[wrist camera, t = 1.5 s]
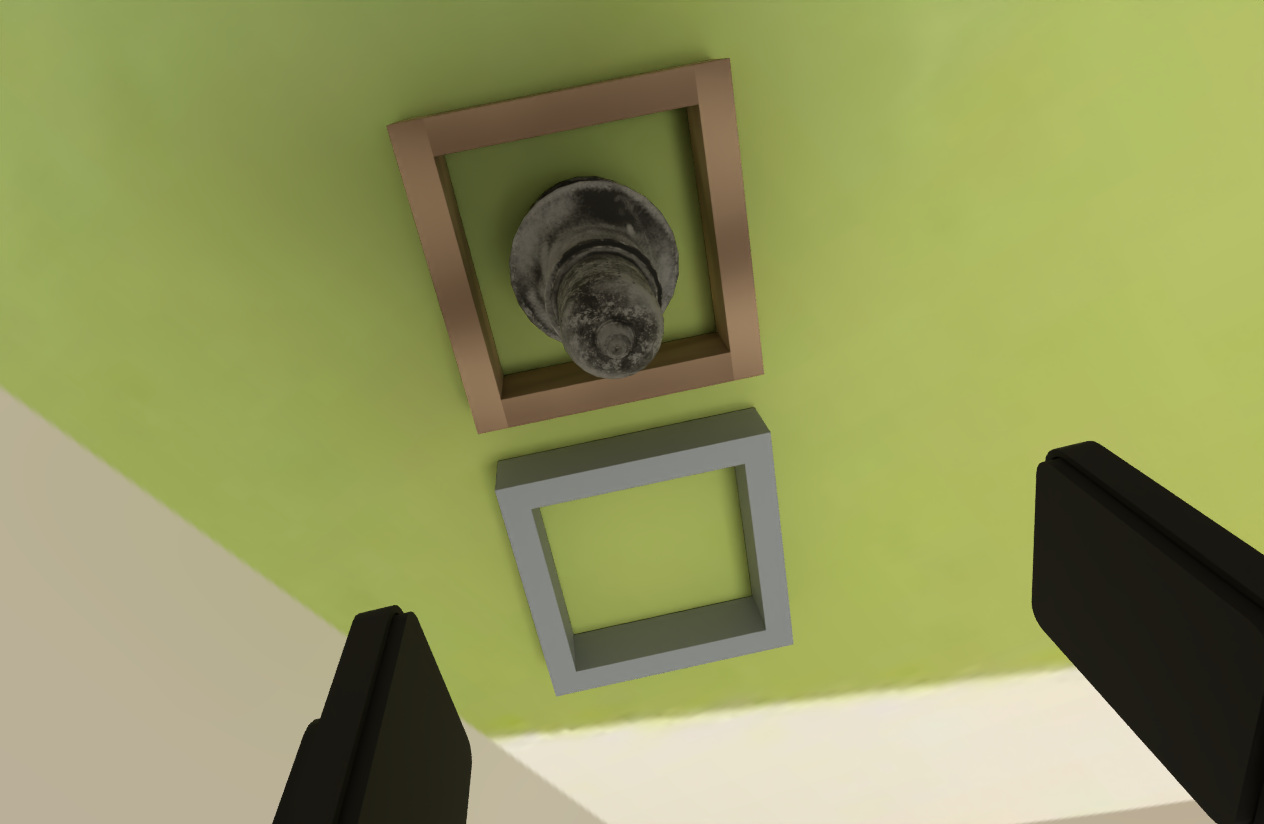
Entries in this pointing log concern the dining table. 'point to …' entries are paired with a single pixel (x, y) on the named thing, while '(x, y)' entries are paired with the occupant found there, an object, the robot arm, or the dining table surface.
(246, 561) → the dining table surface
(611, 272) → the dark grey turned piece
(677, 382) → the walnut holder
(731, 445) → the grey holder
